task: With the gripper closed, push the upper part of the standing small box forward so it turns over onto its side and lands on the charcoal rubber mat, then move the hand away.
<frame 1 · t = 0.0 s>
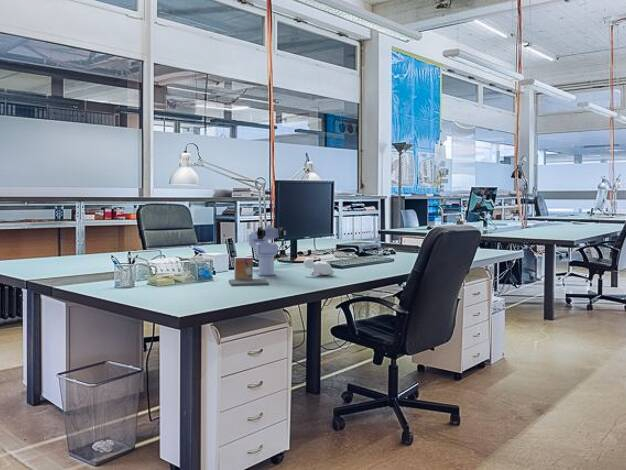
hand: (273, 232, 264), 22 cm above the table, tool horizontal, fingers open, 7 cm apart
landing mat: (248, 283, 257), on the table
white animal figurine: (318, 276, 282), on the table
small box: (243, 280, 267), on the table
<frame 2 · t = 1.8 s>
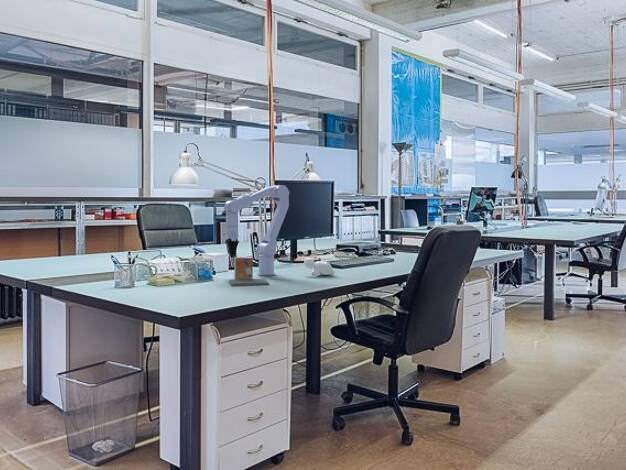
hand: (232, 255, 275), 10 cm above the table, tool pointing down, fingers open, 5 cm apart
nothing on the table moved.
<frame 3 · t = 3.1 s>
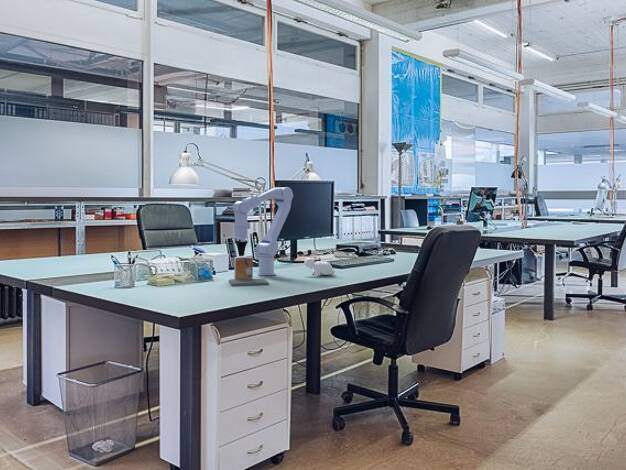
hand: (241, 256, 274), 10 cm above the table, tool pointing down, fingers closed
nothing on the table moved.
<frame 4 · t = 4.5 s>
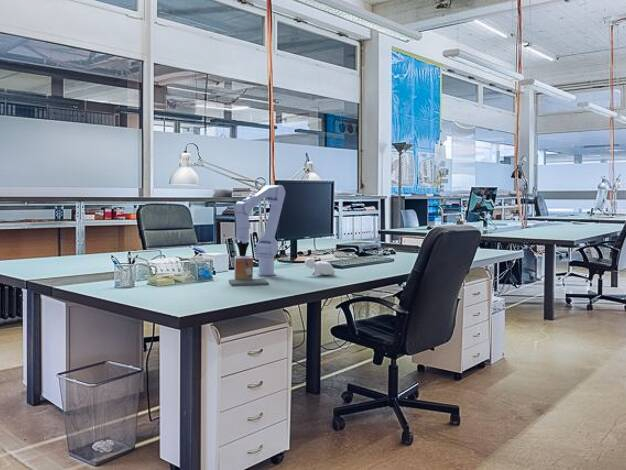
hand: (242, 257, 268), 10 cm above the table, tool pointing down, fingers closed
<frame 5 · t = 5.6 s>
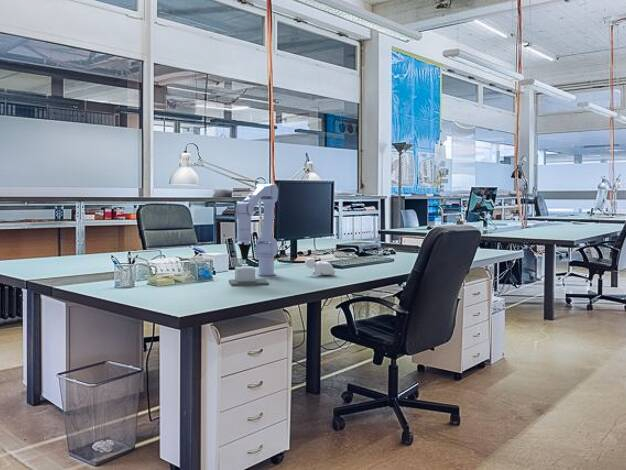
hand: (244, 259, 261), 10 cm above the table, tool pointing down, fingers closed
small box: (243, 272, 264), point 4 cm above the table, touching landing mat
everything else where it was.
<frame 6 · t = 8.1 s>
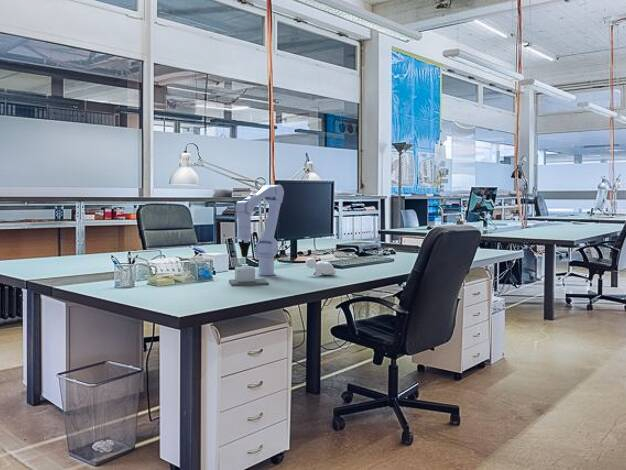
hand: (244, 257, 267), 10 cm above the table, tool pointing down, fingers closed
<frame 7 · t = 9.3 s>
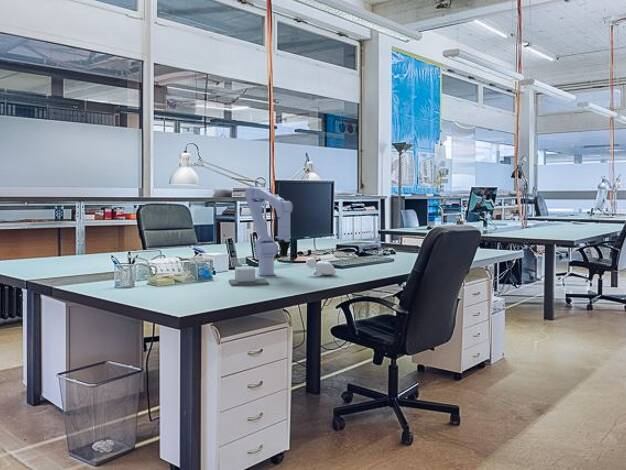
hand: (284, 256, 271), 10 cm above the table, tool pointing down, fingers closed
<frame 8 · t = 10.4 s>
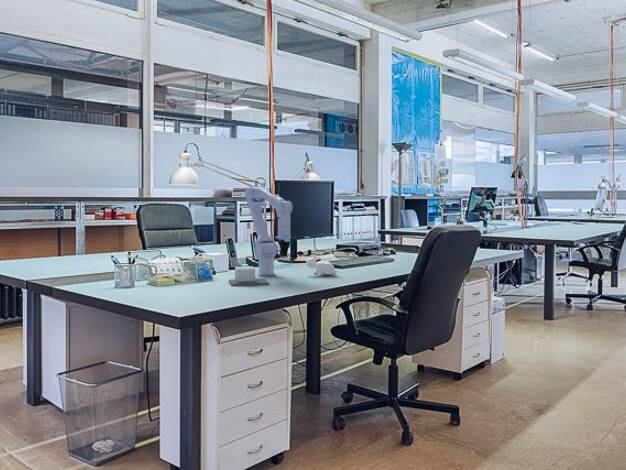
hand: (284, 256, 271), 10 cm above the table, tool pointing down, fingers closed
at the end: small box tilted 90°; small box touching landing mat; small box inside the target area (3.5 cm from its centre), point 3.8 cm above the table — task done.
